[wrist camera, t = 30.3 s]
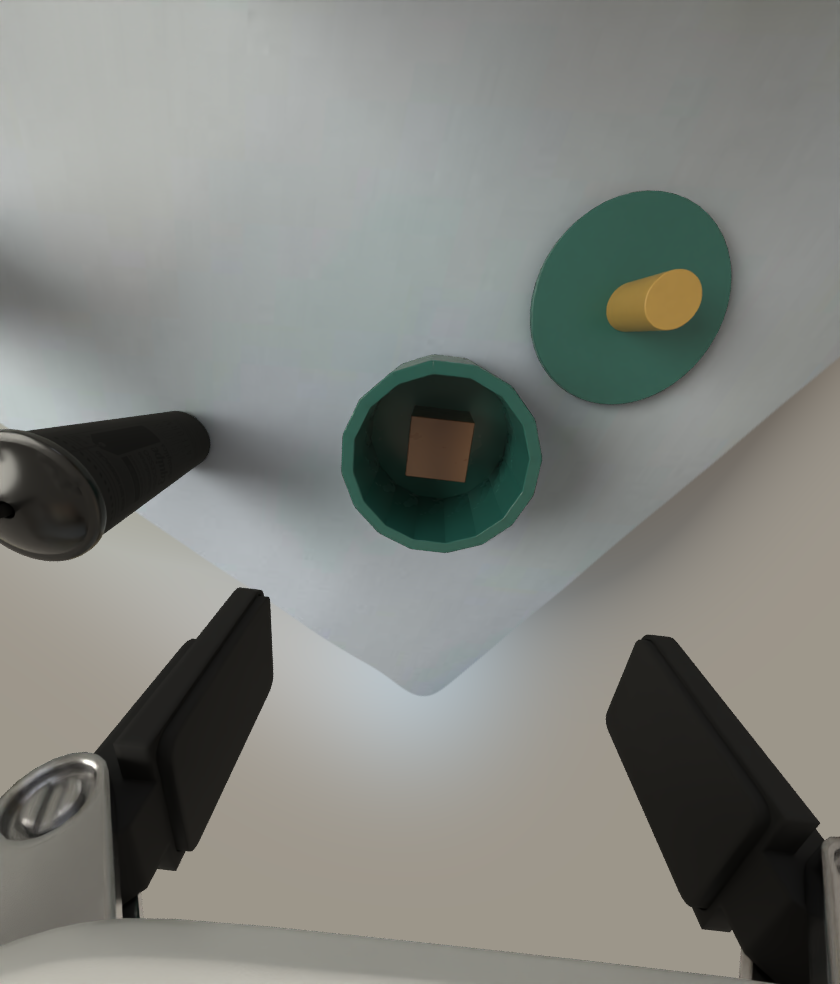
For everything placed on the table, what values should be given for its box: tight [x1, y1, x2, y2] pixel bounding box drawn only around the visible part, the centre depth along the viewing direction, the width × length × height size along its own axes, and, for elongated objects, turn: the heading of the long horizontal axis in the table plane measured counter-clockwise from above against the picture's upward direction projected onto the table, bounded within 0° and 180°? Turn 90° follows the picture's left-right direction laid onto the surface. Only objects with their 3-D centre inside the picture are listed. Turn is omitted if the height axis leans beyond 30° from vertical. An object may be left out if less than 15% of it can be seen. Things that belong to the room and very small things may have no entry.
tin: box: [341, 354, 542, 553], centre depth 28 cm, size 13×13×8 cm
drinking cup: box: [0, 411, 210, 561], centre depth 24 cm, size 8×8×20 cm
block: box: [405, 405, 475, 483], centre depth 30 cm, size 4×4×4 cm
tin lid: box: [530, 191, 731, 404], centre depth 25 cm, size 14×14×7 cm
